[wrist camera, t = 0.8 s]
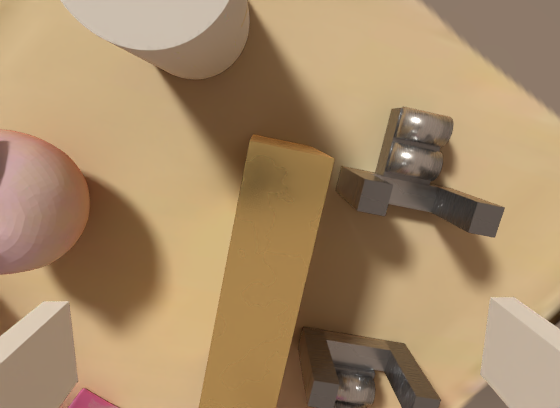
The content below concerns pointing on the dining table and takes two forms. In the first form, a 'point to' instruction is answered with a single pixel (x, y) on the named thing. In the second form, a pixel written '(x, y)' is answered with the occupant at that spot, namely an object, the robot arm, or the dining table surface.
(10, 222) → the decorative fruit
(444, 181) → the dining table surface
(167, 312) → the dining table surface
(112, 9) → the cup
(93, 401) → the gum box
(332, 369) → the pair of grey pieces
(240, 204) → the link bar
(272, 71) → the dining table surface
